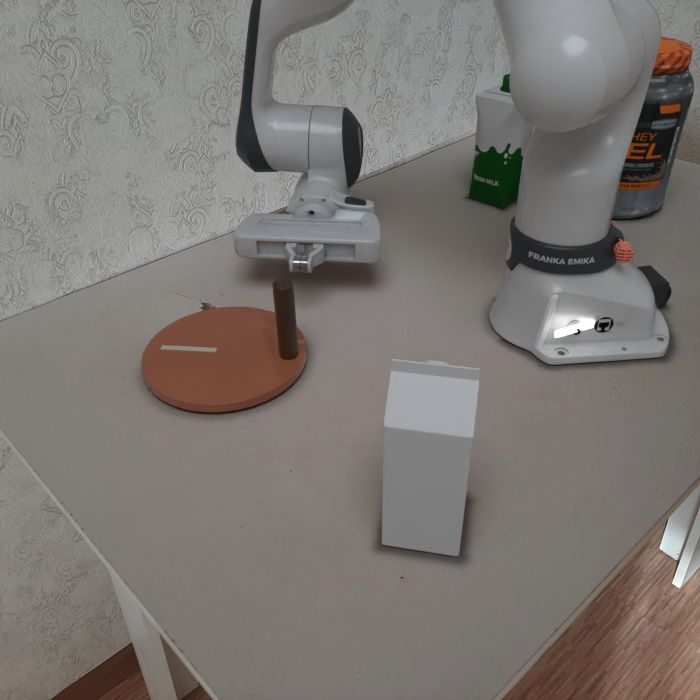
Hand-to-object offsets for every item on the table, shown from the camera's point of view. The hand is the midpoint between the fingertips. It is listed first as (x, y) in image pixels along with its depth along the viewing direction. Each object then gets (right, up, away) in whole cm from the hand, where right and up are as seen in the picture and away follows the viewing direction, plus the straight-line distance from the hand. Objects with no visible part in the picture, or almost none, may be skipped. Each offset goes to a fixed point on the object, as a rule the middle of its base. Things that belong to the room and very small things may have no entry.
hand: (300, 267), depth 92 cm
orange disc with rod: (-9, -12, -4) cm, 16 cm away
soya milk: (+32, +16, +34) cm, 49 cm away
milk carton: (+13, -27, -24) cm, 39 cm away
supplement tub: (+52, +15, +31) cm, 62 cm away
